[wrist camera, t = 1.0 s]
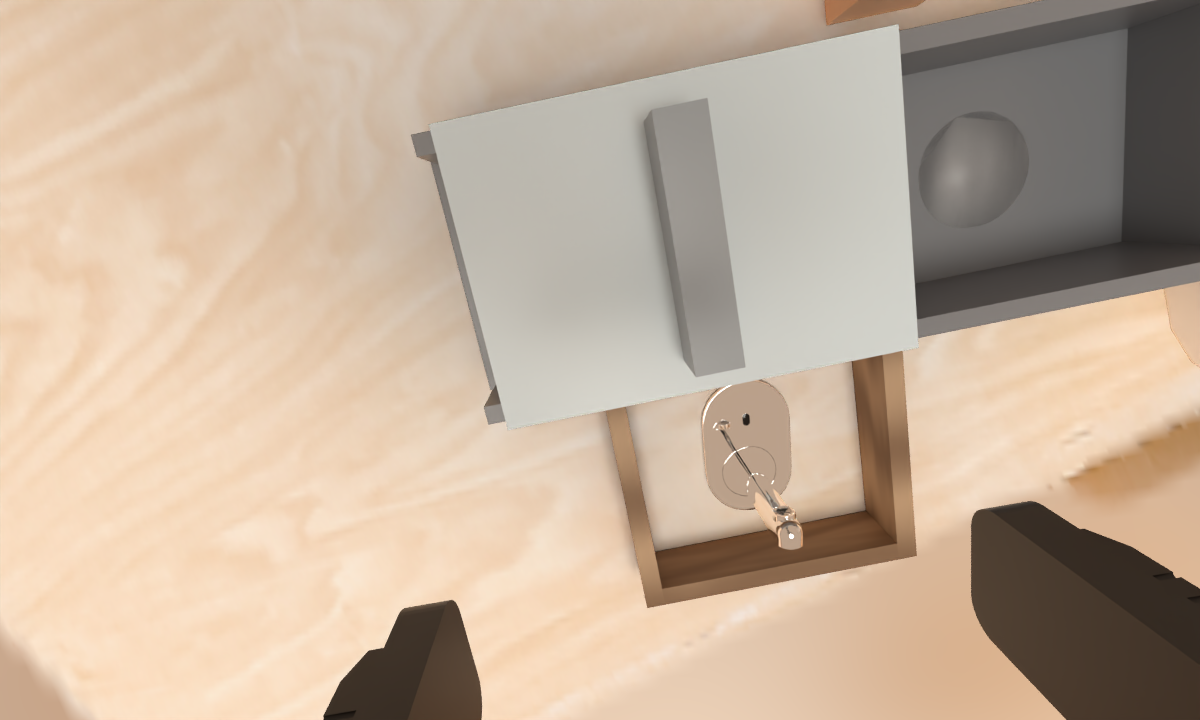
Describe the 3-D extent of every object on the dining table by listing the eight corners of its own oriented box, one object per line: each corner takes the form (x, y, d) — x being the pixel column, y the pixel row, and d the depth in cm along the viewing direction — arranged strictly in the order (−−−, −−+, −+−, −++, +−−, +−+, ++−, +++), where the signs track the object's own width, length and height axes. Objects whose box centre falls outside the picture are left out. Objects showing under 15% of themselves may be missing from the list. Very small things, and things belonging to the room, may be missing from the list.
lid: (434, 128, 21) (408, 112, 18) (885, 32, 21) (940, -2, 17) (510, 422, 24) (499, 454, 21) (906, 342, 23) (957, 362, 20)
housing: (439, 159, 28) (390, 139, 21) (1125, 13, 28) (1317, -59, 21) (496, 379, 31) (470, 428, 24) (1118, 252, 31) (1284, 263, 23)
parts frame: (598, 369, 31) (601, 387, 28) (866, 315, 31) (900, 326, 28) (641, 569, 35) (647, 608, 31) (883, 522, 34) (916, 555, 31)
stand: (785, 373, 32) (790, 500, 34) (698, 383, 32) (708, 510, 34) (845, 420, 25) (848, 580, 26) (732, 434, 25) (743, 592, 27)
